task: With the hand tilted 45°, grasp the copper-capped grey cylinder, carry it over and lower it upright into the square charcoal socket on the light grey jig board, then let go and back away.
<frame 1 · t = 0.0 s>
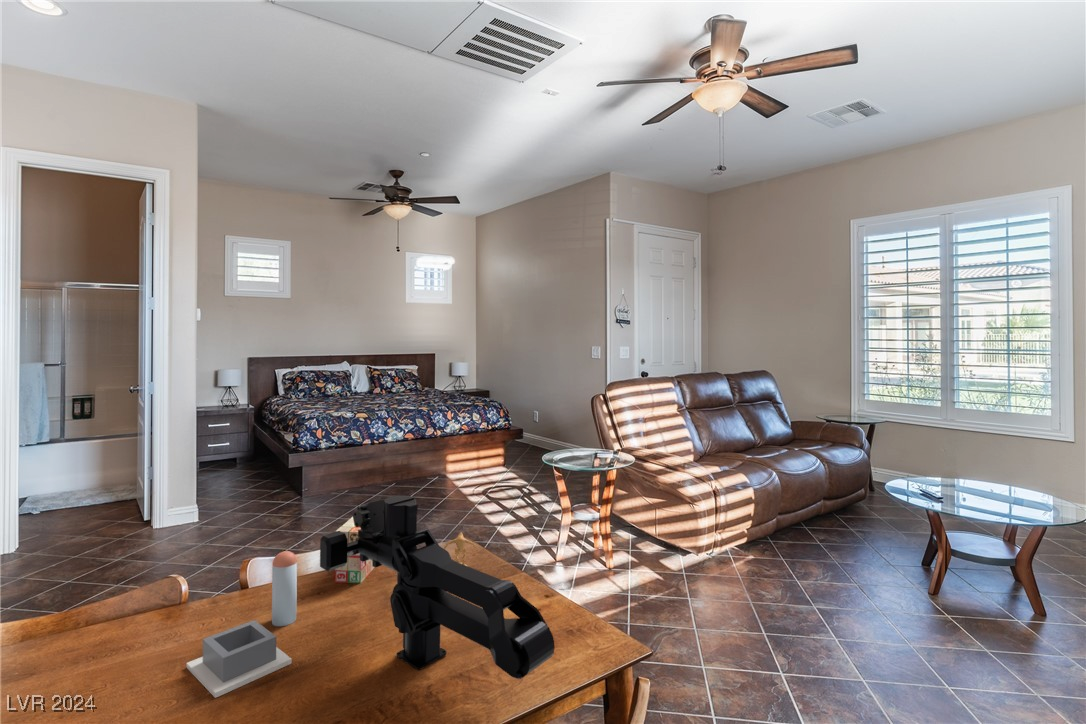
hand: (344, 530, 111), 17 cm above the table, tool horizontal, fingers open, 9 cm apart
jig: (239, 665, 92), on the table
stack of blocks: (364, 565, 135), on the table
figurine: (460, 582, 126), on the table
copper-capped grey cylinder: (284, 620, 107), on the table
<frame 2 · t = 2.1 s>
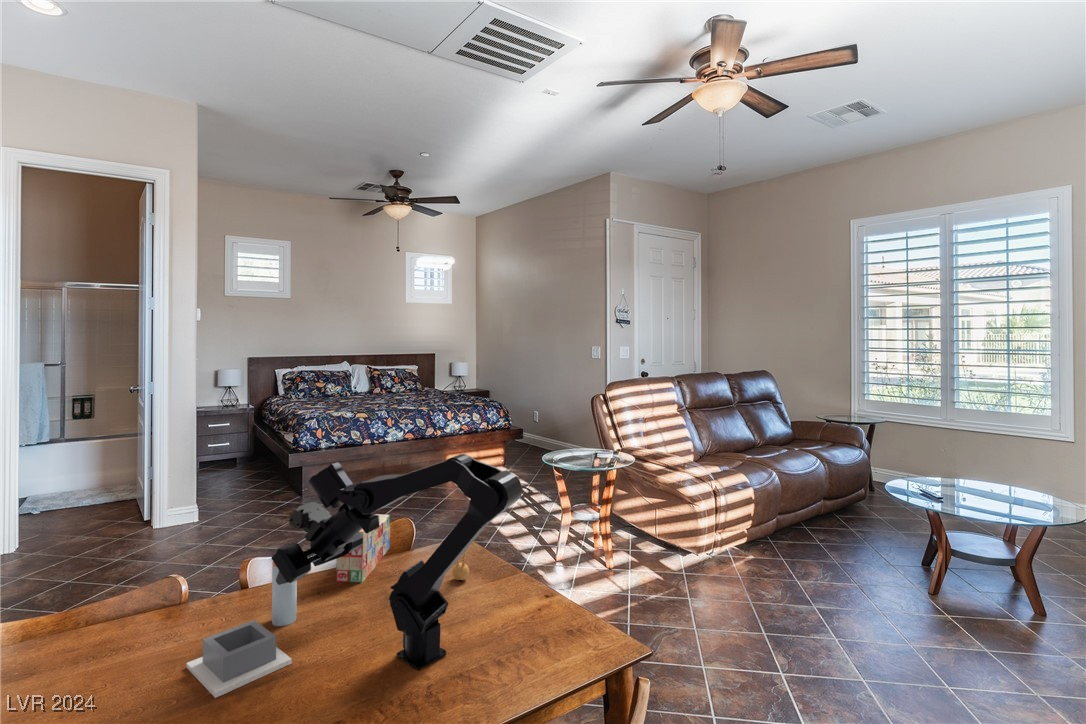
hand: (296, 573, 106), 10 cm above the table, tool tilted 45°, fingers open, 9 cm apart
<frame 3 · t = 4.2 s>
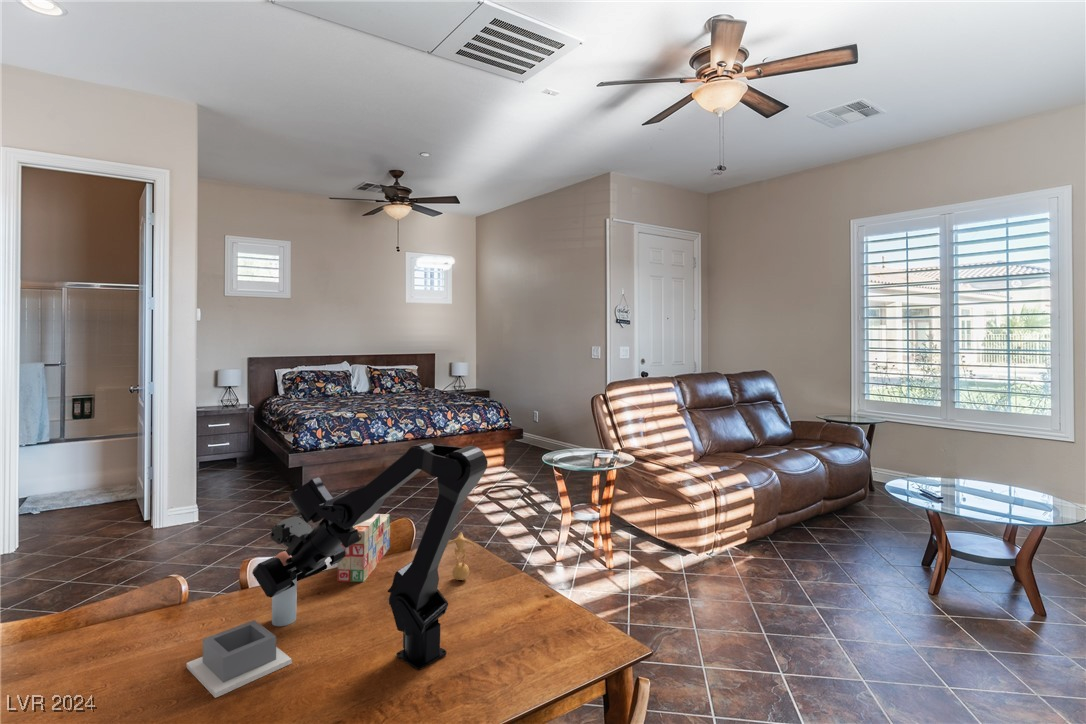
hand: (279, 586, 107), 7 cm above the table, tool tilted 45°, fingers closed on copper-capped grey cylinder, 4 cm apart
copper-capped grey cylinder: (284, 620, 107), on the table, touching gripper
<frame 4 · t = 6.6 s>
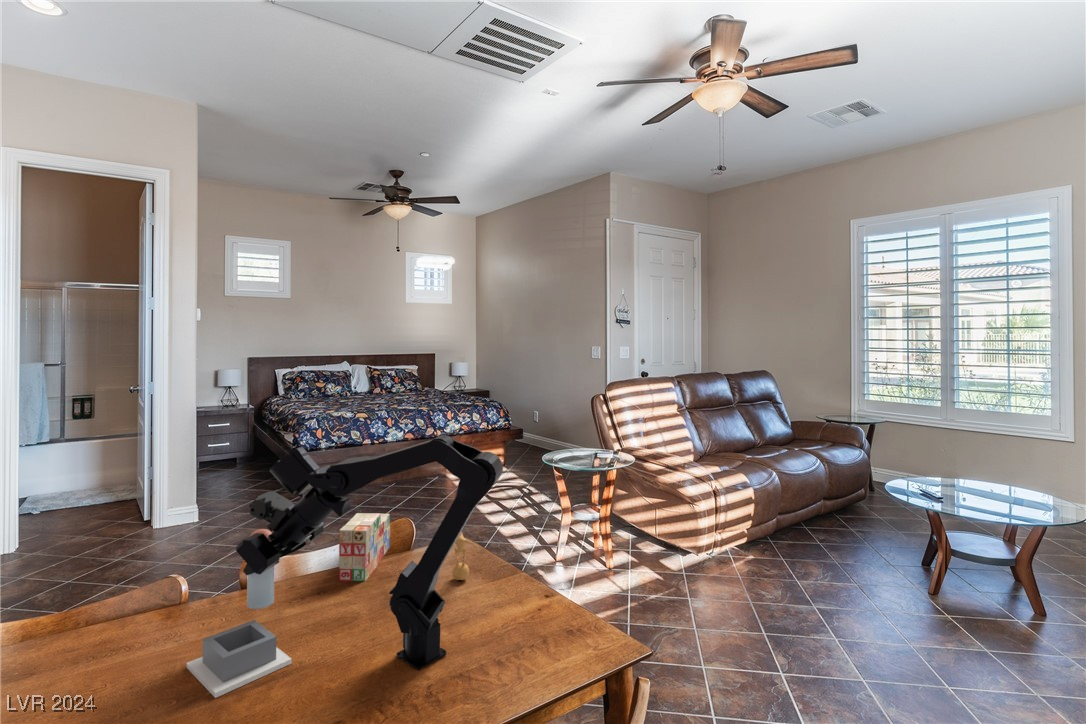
hand: (253, 567, 100), 13 cm above the table, tool tilted 45°, fingers closed on copper-capped grey cylinder, 4 cm apart
copper-capped grey cylinder: (260, 603, 100), point 7 cm above the table, touching gripper
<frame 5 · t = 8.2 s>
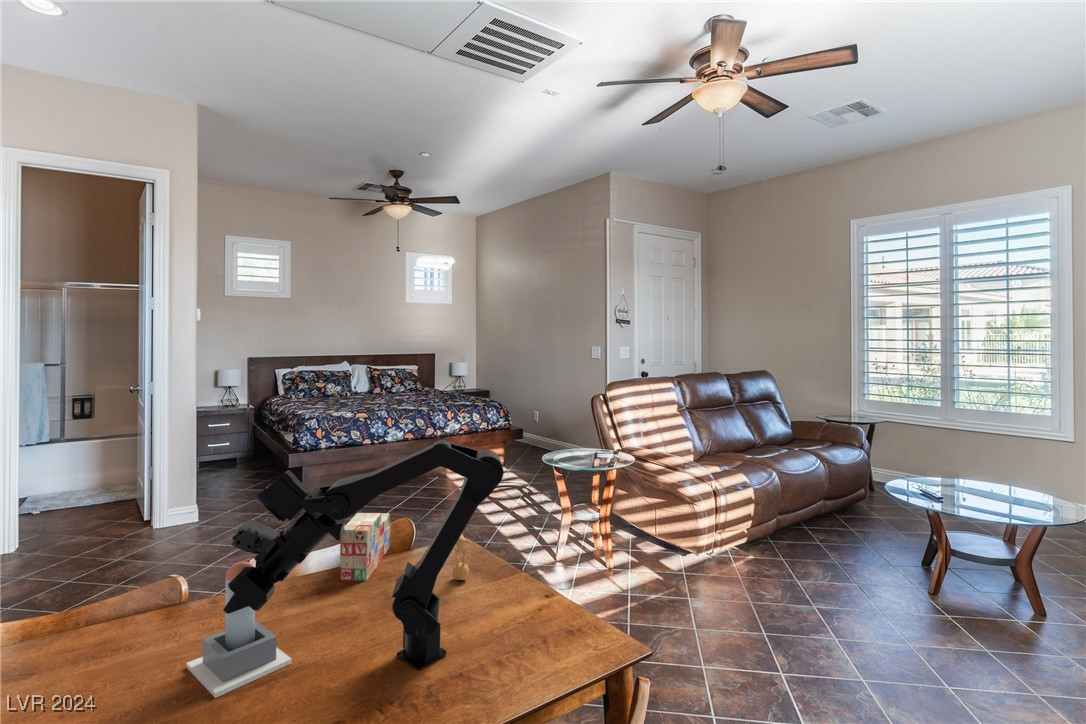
hand: (232, 604, 92), 11 cm above the table, tool tilted 45°, fingers closed on copper-capped grey cylinder, 4 cm apart
copper-capped grey cylinder: (240, 642, 92), point 4 cm above the table, touching gripper
when the fingers open (9 cm above the table, at t = 9.3 s): copper-capped grey cylinder drops 1 cm, resting on jig.
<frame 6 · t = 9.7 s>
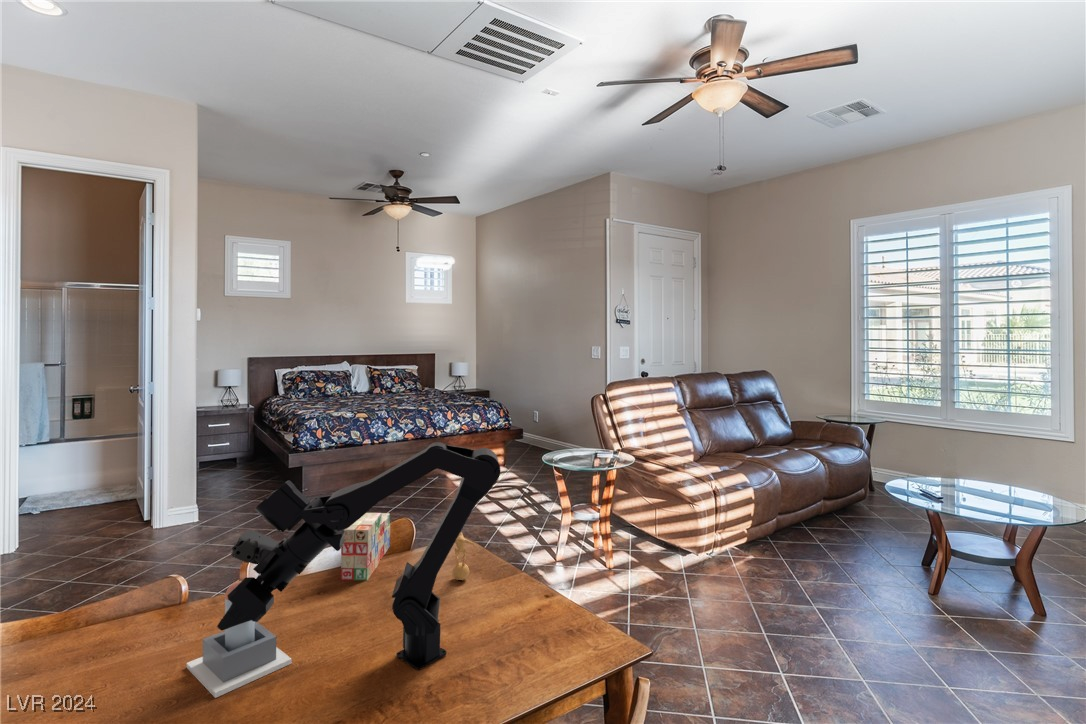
hand: (231, 614, 92), 9 cm above the table, tool tilted 45°, fingers open, 8 cm apart
copper-capped grey cylinder: (239, 660, 92), point 1 cm above the table, touching jig
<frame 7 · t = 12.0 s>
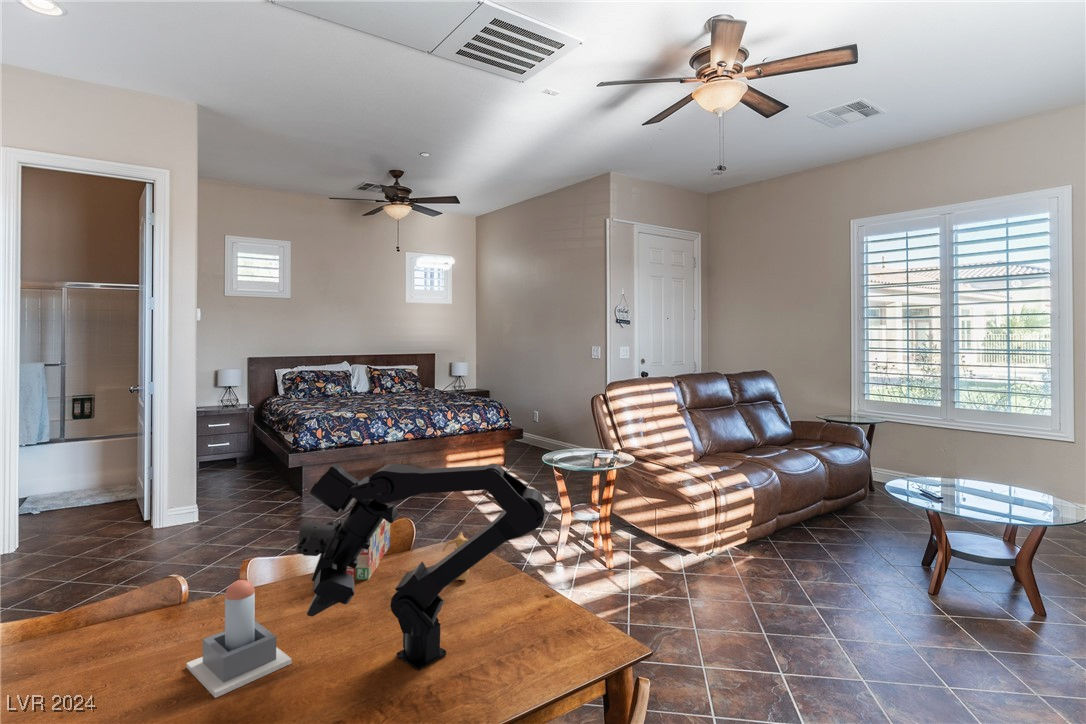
hand: (311, 597, 97), 10 cm above the table, tool tilted 35°, fingers open, 9 cm apart
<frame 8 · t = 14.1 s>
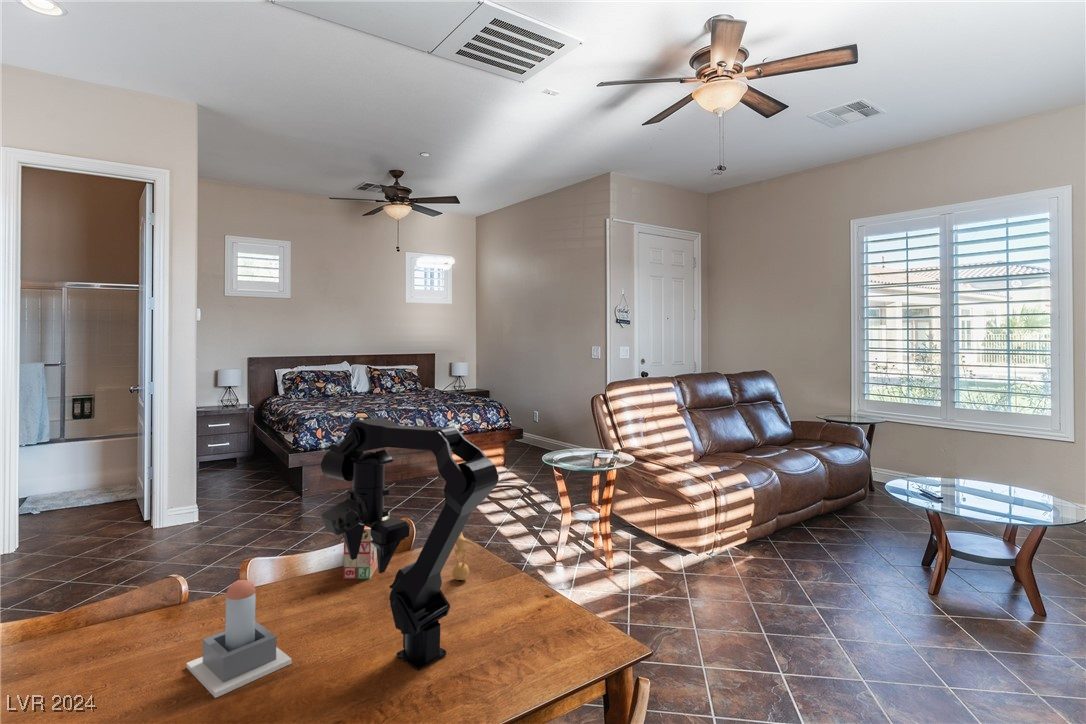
hand: (367, 565, 103), 13 cm above the table, tool pointing down, fingers open, 9 cm apart
at the end: copper-capped grey cylinder 0.0 cm off-centre on the jig, point 0.8 cm above the jig's base; copper-capped grey cylinder tilted 0°; the gripper is holding nothing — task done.
